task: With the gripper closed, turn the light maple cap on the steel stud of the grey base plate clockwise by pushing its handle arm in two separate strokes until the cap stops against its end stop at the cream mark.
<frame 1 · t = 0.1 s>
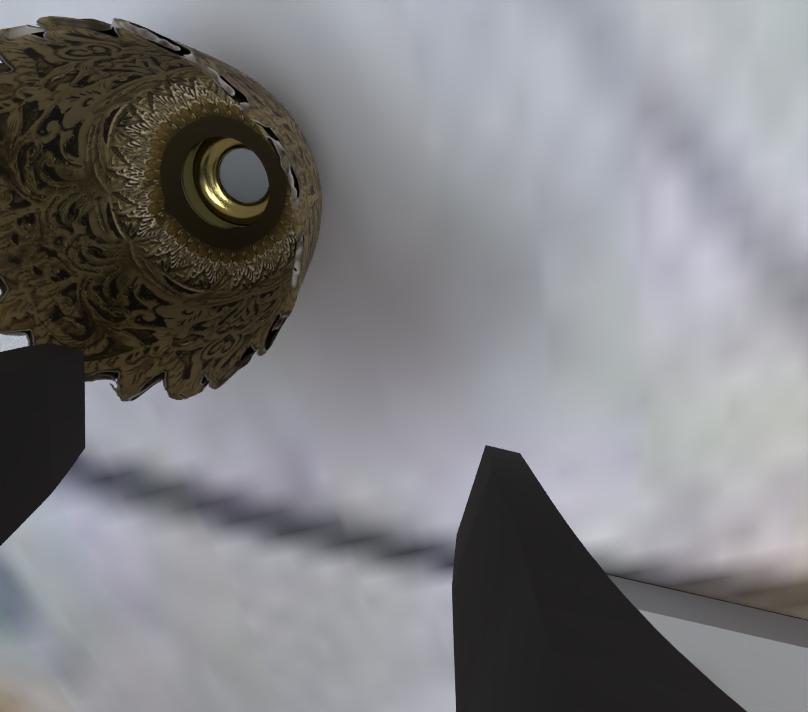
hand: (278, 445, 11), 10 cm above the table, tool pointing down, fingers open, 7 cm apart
cup: (247, 175, 19), on the table
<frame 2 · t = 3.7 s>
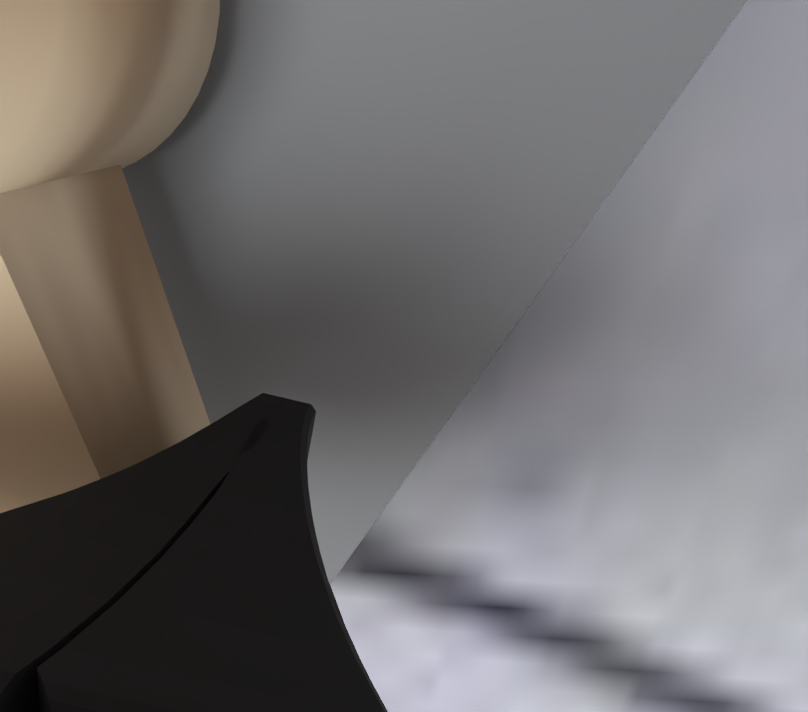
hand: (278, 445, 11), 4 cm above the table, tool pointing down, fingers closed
maple cap: (15, 193, 9), point 5 cm above the table, hinge at 0.0°, touching gripper
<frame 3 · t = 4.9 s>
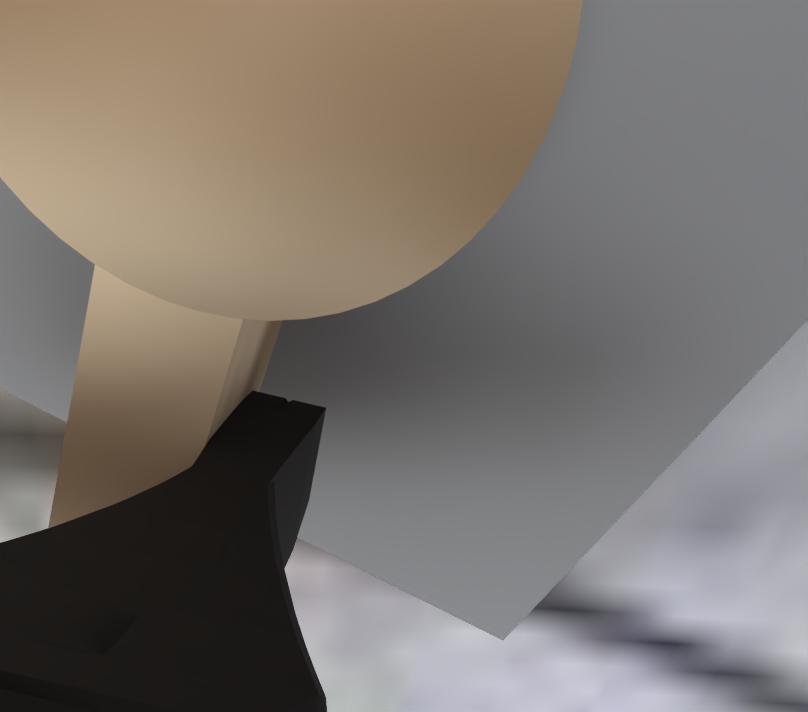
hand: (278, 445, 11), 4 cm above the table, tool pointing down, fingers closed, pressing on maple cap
base plate: (349, 40, 12), on the table
maple cap: (224, 251, 9), point 4 cm above the table, hinge at 31.8°, touching gripper
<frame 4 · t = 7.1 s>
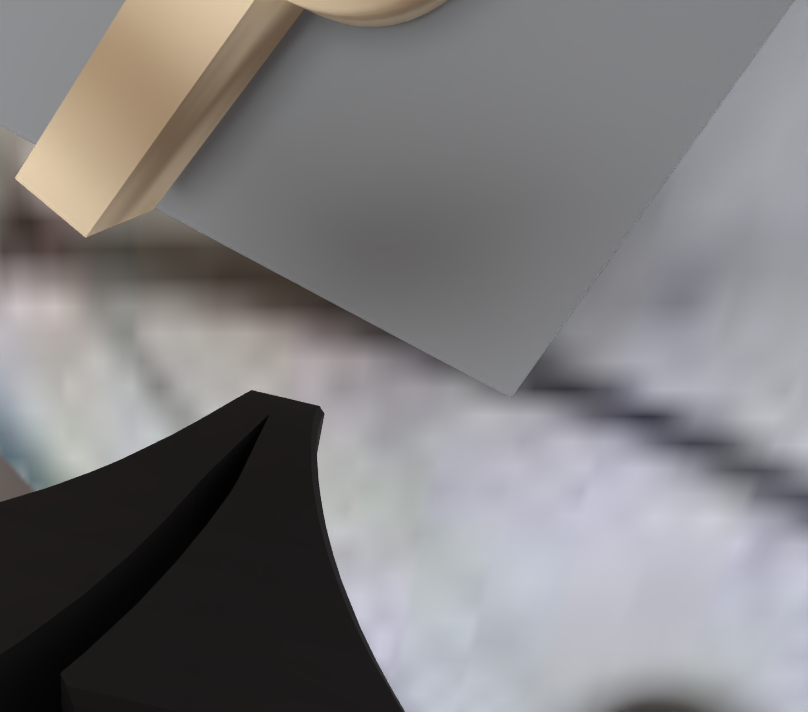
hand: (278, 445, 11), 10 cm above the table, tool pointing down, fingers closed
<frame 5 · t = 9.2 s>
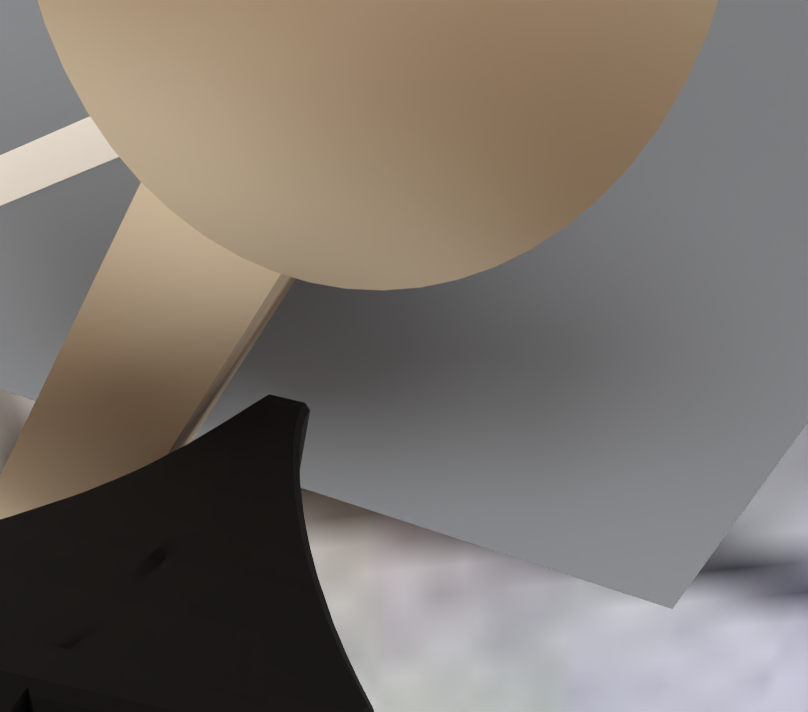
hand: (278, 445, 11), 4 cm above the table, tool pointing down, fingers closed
base plate: (416, 17, 11), on the table
maple cap: (261, 199, 9), point 5 cm above the table, hinge at 56.6°, touching gripper
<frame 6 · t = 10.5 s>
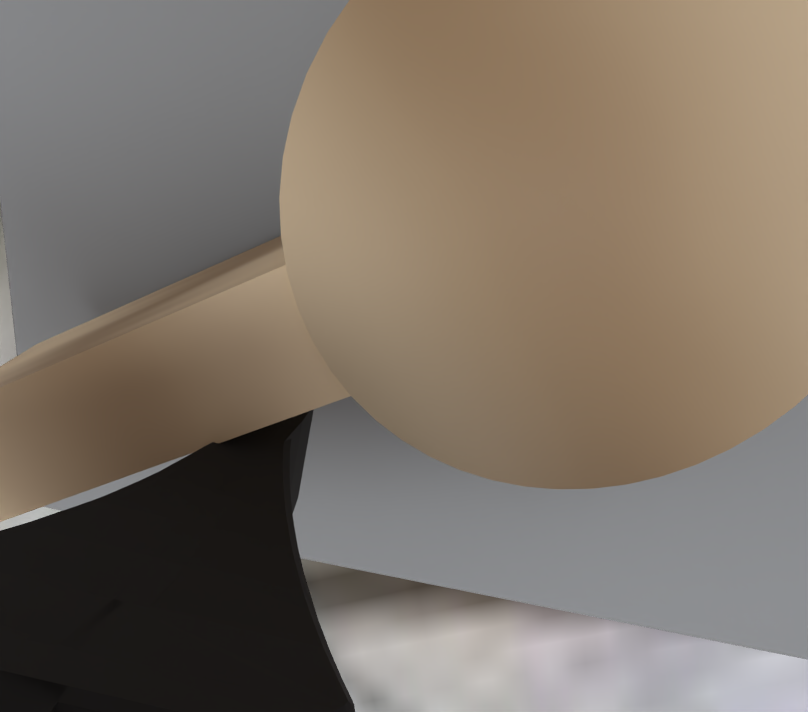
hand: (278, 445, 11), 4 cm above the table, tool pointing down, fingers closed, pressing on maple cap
base plate: (525, 160, 12), on the table
maple cap: (346, 286, 9), point 4 cm above the table, hinge at 96.3°, touching gripper
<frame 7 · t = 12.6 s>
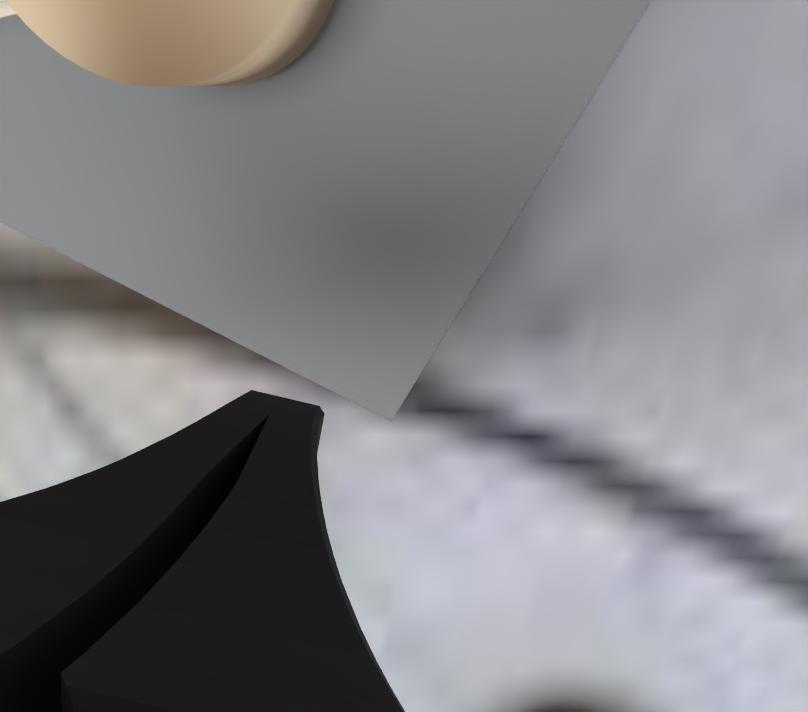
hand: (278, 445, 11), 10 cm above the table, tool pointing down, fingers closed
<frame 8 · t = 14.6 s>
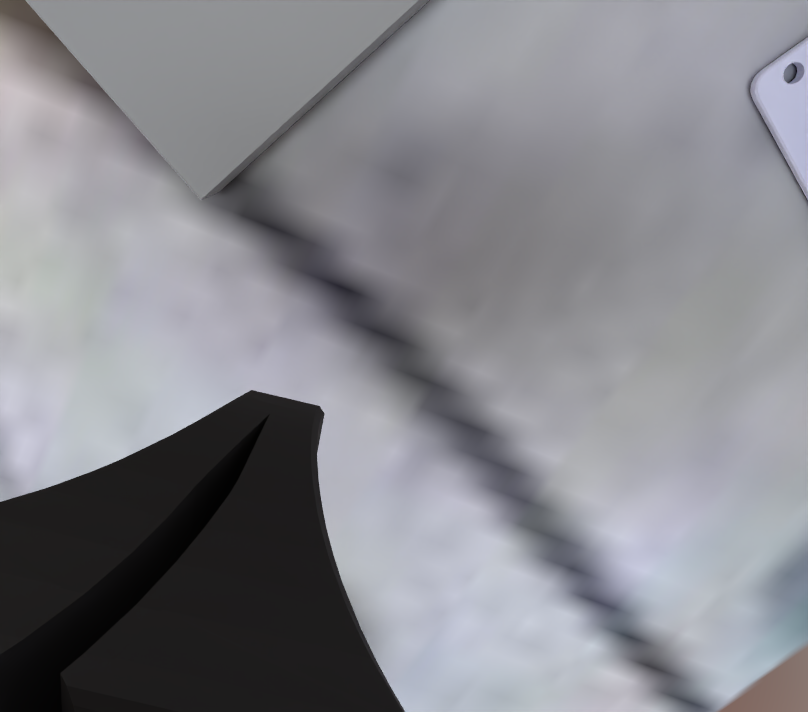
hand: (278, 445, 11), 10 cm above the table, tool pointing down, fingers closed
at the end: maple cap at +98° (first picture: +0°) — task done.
